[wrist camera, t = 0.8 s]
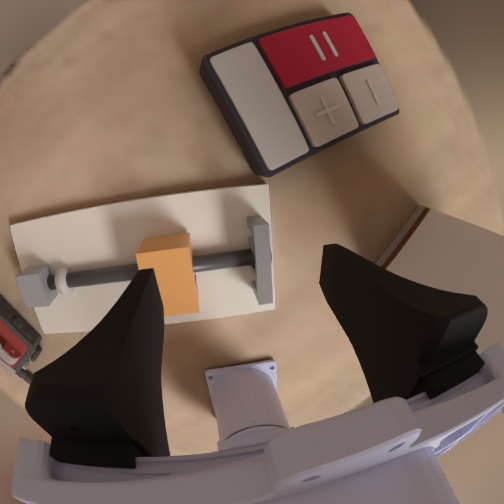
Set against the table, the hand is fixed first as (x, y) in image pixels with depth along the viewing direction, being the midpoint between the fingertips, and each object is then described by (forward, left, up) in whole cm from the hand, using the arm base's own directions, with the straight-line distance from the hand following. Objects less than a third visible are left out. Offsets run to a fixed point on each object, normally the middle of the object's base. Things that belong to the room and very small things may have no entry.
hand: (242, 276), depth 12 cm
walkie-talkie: (-12, +27, -15) cm, 33 cm away
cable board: (-4, +8, -14) cm, 17 cm away
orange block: (-4, +5, -13) cm, 14 cm away
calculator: (+11, -8, -15) cm, 20 cm away
